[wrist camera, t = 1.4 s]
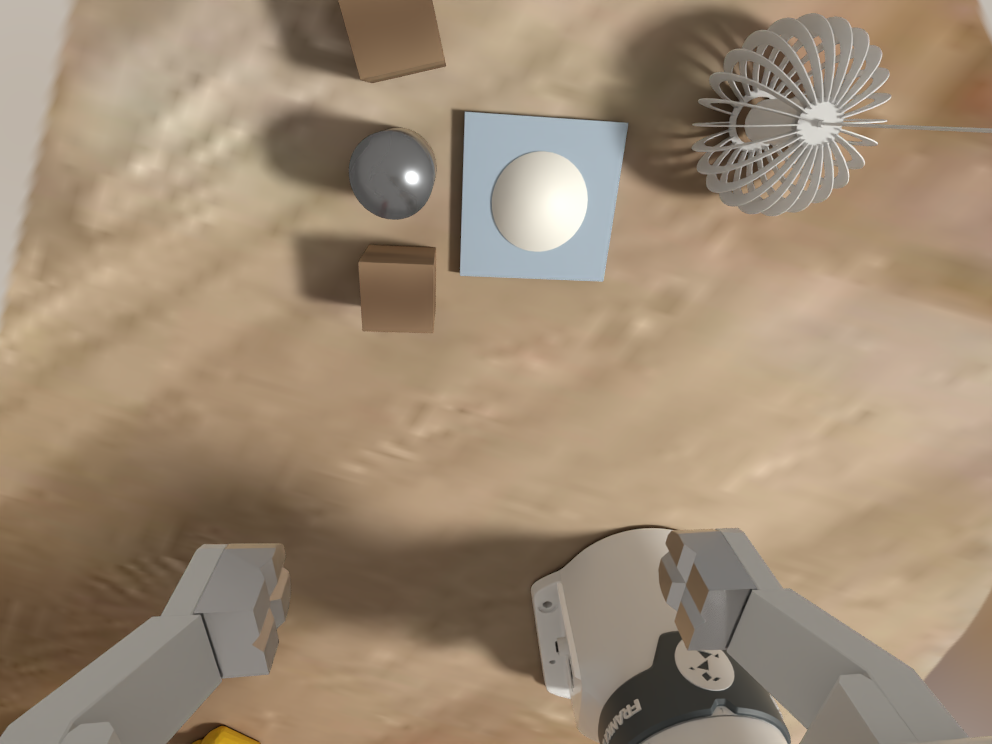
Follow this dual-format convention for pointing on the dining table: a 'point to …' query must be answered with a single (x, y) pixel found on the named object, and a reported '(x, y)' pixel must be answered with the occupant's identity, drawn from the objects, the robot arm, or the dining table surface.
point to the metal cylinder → (393, 173)
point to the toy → (225, 737)
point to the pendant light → (796, 114)
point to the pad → (538, 196)
